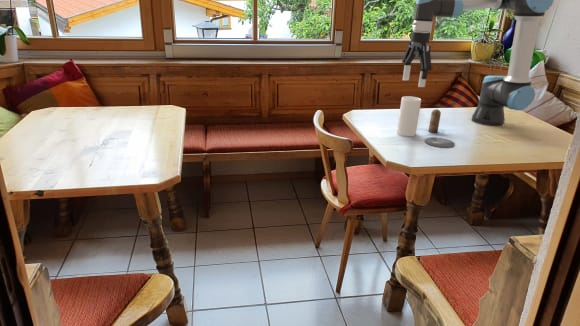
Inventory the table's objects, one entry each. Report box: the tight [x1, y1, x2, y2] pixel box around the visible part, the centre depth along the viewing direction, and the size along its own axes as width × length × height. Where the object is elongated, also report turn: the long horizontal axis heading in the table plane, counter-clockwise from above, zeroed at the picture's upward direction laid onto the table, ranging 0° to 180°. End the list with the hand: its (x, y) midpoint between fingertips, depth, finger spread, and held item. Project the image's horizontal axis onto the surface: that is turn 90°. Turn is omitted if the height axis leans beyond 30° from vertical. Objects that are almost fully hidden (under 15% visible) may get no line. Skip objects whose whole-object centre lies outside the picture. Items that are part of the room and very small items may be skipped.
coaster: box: [424, 136, 456, 149], centre depth 181 cm, size 12×12×1 cm
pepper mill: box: [428, 108, 442, 134], centre depth 194 cm, size 4×4×10 cm
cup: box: [396, 95, 422, 137], centre depth 188 cm, size 8×8×16 cm
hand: (413, 83), depth 183 cm, fingers open, 13 cm apart
